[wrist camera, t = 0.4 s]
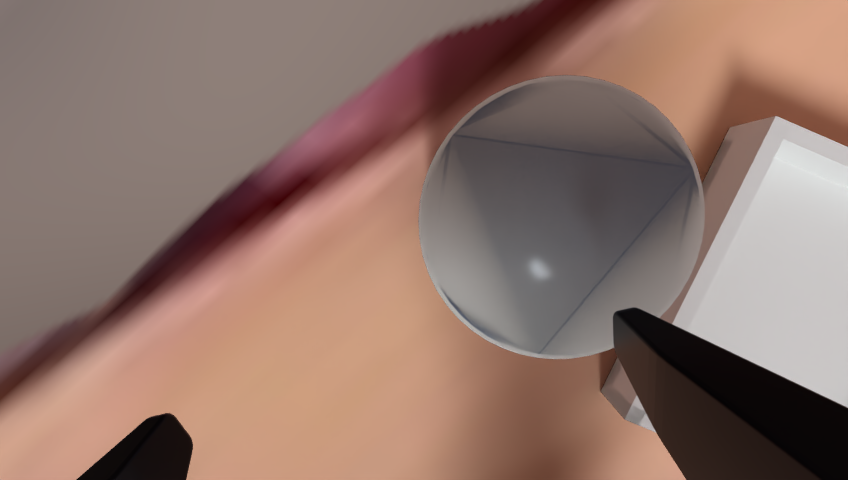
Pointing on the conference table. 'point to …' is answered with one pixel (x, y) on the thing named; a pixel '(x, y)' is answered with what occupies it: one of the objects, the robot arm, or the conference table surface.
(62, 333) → the conference table surface
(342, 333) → the conference table surface
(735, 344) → the tray
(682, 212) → the canister
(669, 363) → the robot arm
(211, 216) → the conference table surface
